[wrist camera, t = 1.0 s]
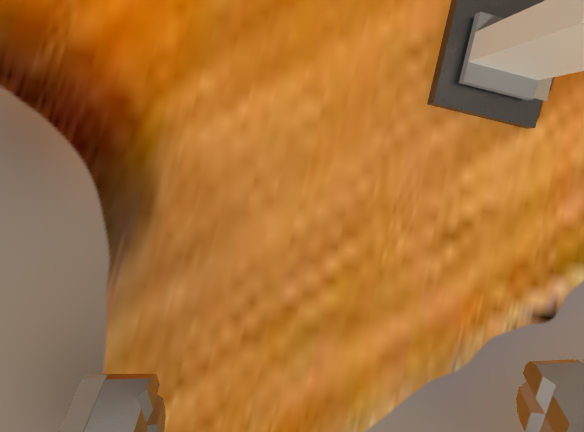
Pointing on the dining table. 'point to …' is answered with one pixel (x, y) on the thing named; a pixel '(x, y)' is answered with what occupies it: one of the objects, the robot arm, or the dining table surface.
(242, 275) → the dining table surface
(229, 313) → the dining table surface
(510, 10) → the base
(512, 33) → the upright white panel
